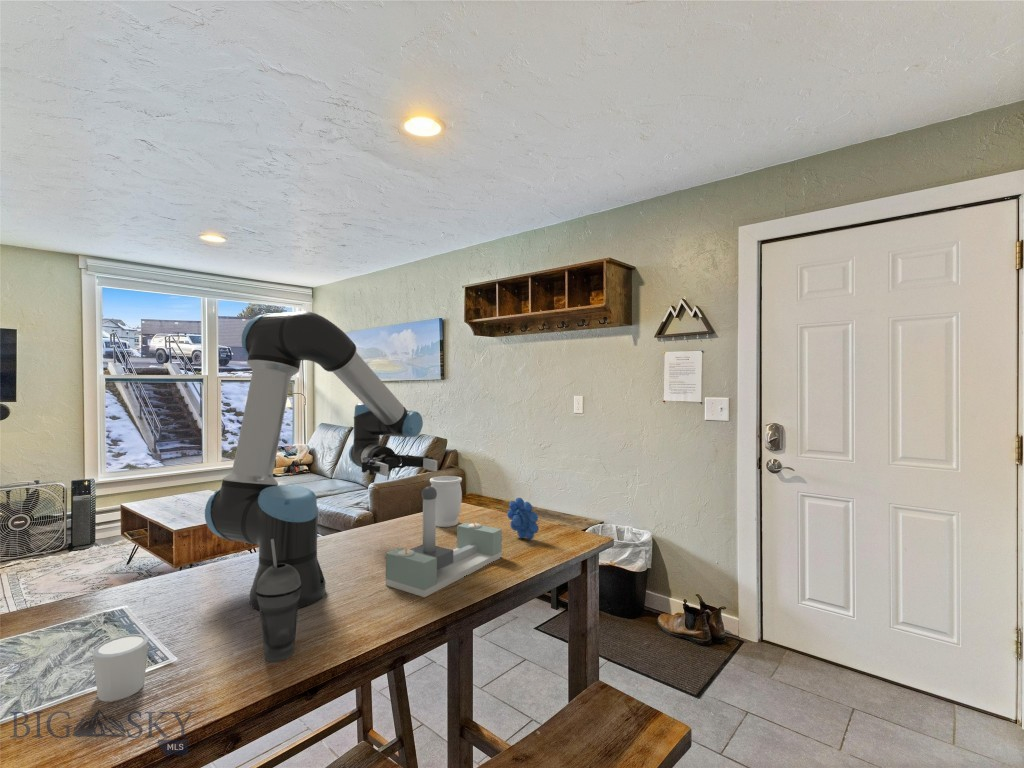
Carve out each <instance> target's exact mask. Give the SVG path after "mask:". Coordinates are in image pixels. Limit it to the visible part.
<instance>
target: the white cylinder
mask: <svg viewBox="0 0 1024 768" xmlns="http://www.w3.org/2000/svg"><path fill="white" fill-rule="evenodd" d="M149 640H150V638H149V637H148V635H146V634H142V633H141V634H140V633H137V634H135V633H133V634H126V635H121V636H118V637H115V638H111V639H108V640H106V641H104V642H102V643H100V644H99V645H97V646H96V647H95V648H94V649H93V651H92V661H93V669H94V677H95V684H96V692H97V698H98V700H99V701H102V702H116V701H121V700H123V699H126V698H129V697H131V696H133V695H134V694H137V693H139V691H140V690H142V689H143V687H144V685H145V680H146V679H145V678H146V669H147V663H148V662H147V661H148V654H149V653H148V651H149V643H150V641H149Z"/></svg>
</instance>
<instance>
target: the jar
mask: <svg viewBox="0 0 1024 768" xmlns="http://www.w3.org/2000/svg"><path fill="white" fill-rule="evenodd" d="M462 480H463V478H462V477H460V476H454V475H440V476H433V477H431V478H430V479H429V483H430V486H431V487H434V488H435V489H436V491H437V496H436V527H439V528H440V527H441V528H450V527H453V526H458V525H459V523H460V522H459V520H458V518H459V516H460V512H461V507H462V506H461V505H462V500H463V491H462V486H461V483H462Z"/></svg>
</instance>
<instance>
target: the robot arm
mask: <svg viewBox="0 0 1024 768" xmlns="http://www.w3.org/2000/svg"><path fill="white" fill-rule="evenodd" d="M241 346H242V348H244V350H243V351H244V353H245V354H246V355H247V360H246V361H247V362H246V364H247V365H248V366H249V368H250V369H251V371H252V372H251V377H250V382H249V388H248V392H247V396H246V402H245V407H244V412H243V416H242V421H241V427H240V431H239V436H238V441H237V445H236V449H235V450H236V451H235V456H234V460H233V465H232V471H231V472H230V473H229V474H227V475H226V476H224V477H223V478H222V481H221V486H220V488H218V489H217V490H215V491H214V493H213V494H212V495H210V497H208V500H207V501H206V504H205V508H204V520H205V523H206V526H207V528H208V529H209V530H210V532H211V533H213V534H214V536H215V535H216V536H217V537H219V538H223V539H224V540H227V541H230V542H240V543H247V544H250V545H256V546H258V567H257V570H256V573H255V576H254V579H253V582H252V585H251V588H250V590H249V591H250V592H249V605H250V606H251V608H253V607H254V608H253V609H255V610H257V609H258V610H257V611H260V607H259V605H258V600H257V595H256V589H257V584H258V581H259V578H260V577H261V575H262V574H263V572H264V571H265V570H266V569H268V568H269V567H271V566H273V565H274V564H273V555H272V547H271V539H274V545H275V553H276V562H277V564H280V563H284V564H288V565H291V566H292V567H294V568H295V569H296V570H297V572H298V573H299V575H300V580H301V584H302V587H301V592H300V597H299V600H298V609H300V608H304V607H306V606H309V605H311V604H314V603H316V602H317V601H319V600H321V599H322V598H323V597H324V595H325V594H326V579H325V577H324V573H323V571H322V568H321V566H320V562H319V559H318V513H319V510H318V509H319V507H318V503H317V502H318V501H317V499H318V498H317V495H316V494H315V492H314V491H313V490H311V489H310V488H307V487H304V486H300V485H287V484H283V485H282V484H280V485H279V482H278V481H277V480H276V478H275V477H274V470H275V464H276V459H277V454H278V448H279V444H280V438H281V433H282V427H283V423H284V418H285V411H286V407H287V402H288V401H287V400H288V397H289V390H290V386H291V381H292V377H294V376H295V375H296V374H298V373H299V372H300V368H301V363H302V361H310V362H313V363H315V364H317V365H319V366H320V367H321V368H322V369H323V370H324V371H326V372H329V373H333V374H334V375H335V376H336V377H337V378H338V379H339V380H340V381H341V382H342V383H343V384H344V385H345V386H346V387H347V388H348V390H350V391H351V392H352V393H353V394H354V396H356V397H357V399H358V400H359V401H360V403H357V404H355V406H354V412H353V413H354V414H353V415H354V416H353V444H352V445H351V446H350V448H349V451H348V457H349V459H350V462H352V464H354V465H355V466H357V467H360V468H361V473H367V472H368V471H369V473H368V475H370V476H374V475H375V474H378V475H382V476H384V477H388V476H389V472H391V471H392V470H393V469H404V468H406V467H409V468H413V467H414V468H422V469H424V470H427V471H432V472H438V460H435V459H434V457H433V456H429V455H425V456H421V455H420V456H419V455H410V454H397V453H395V451H394V449H392V448H391V447H389V446H384V445H380V439H381V438H380V436H385V437H386V436H388V437H402V438H414V437H415V438H416V437H417V436H419V434H420V433H421V431H422V429H423V426H424V425H423V424H424V422H423V421H424V420H423V417H422V414H421V413H420V412H418V411H415V410H407V409H406V407H405V406H404V405H403V404H402V403H401V401H400V400H399V399H398V398H397V397H396V396H395V395H394V394H393V393H392V391H391V390H390V389H389V388H388V386H387V385H386V384H385V383H384V382H383V381H382V380H381V379H380V378H379V376H378V375H377V374H376V373H375V372H374V371H373V369H372V368H371V367H370V366H369V365H368V364H367V362H366V361H364V359H363V358H362V357H361V356H360V354H359V353H358V352H357V345H356V344H355V342H354V341H353V340H352V339H351V338H350V337H349V336H348V335H347V333H345V332H344V330H342V329H341V328H340V327H338V326H337V325H336V324H335V323H334V322H332V321H331V320H329V319H327V317H326V318H325V317H324V316H323V315H320V314H318V313H316V312H312V311H303V310H301V311H294V312H293V311H291V312H290V311H289V312H268V313H264V314H260V315H256V316H255V317H253V318H251V319H250V320H249V321H248V322H247V323H246V324H245V326H244V327H243V331H242V334H241Z"/></svg>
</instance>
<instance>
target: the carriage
mask: <svg viewBox="0 0 1024 768" xmlns="http://www.w3.org/2000/svg"><path fill="white" fill-rule="evenodd" d="M436 496H437V491H436V489H435V488H434V487H431V485H430V486H426V487H424V488H423V489H422V490H421V498H422V543H421V544H420V545H418V546H415V547H413V548H410V549H409V550H413V551H414V552H416V553H420V554H424V555H428V556H432V557H436V558H437V570H439V569H441V568H443V567H445V566H447V565H449V564H452V563H453V549H449V548H446V547H442V546H437V543H436V542H437V541H436V539H437V537H436V534H437V533H436V528H437V526H436Z"/></svg>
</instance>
